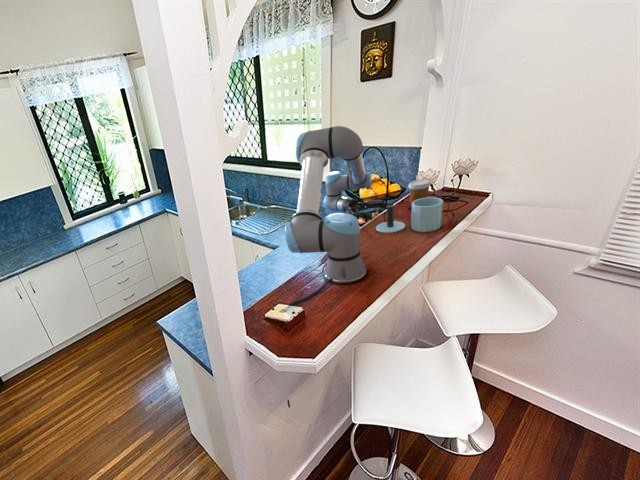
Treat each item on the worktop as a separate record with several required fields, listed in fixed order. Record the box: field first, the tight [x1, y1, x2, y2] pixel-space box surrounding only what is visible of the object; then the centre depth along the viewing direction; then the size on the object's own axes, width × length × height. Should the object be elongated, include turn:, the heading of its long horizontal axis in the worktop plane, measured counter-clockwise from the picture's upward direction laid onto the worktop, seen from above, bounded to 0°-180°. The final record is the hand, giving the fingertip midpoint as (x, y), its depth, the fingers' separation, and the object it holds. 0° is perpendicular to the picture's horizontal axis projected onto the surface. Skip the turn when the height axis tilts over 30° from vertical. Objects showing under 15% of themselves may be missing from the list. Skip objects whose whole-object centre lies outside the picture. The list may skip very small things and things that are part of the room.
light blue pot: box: [410, 196, 444, 233], centre depth 149 cm, size 11×11×12 cm
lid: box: [375, 204, 406, 234], centre depth 156 cm, size 12×12×11 cm
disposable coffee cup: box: [407, 179, 431, 208], centre depth 170 cm, size 10×10×12 cm
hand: (382, 211), depth 158 cm, fingers open, 13 cm apart
